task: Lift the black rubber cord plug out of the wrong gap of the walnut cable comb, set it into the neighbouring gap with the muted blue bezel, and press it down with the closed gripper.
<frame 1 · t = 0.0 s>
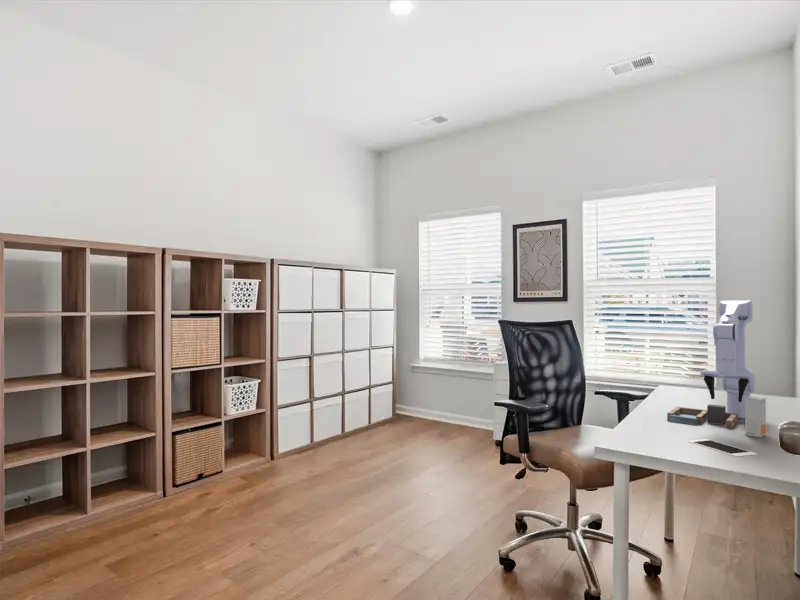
hand: (726, 400, 163), 10 cm above the table, fingers open, 7 cm apart
cell phone: (721, 449, 143), on the table
cord plug: (716, 422, 174), resting in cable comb
skincare box: (755, 435, 157), on the table
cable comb: (702, 420, 177), on the table
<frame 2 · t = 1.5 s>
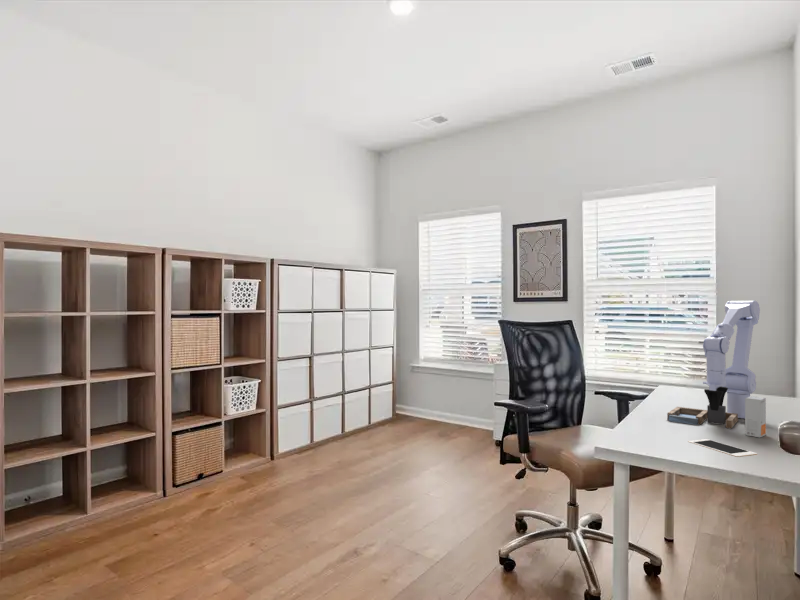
hand: (716, 408, 174), 5 cm above the table, fingers open, 7 cm apart
nothing on the table moved.
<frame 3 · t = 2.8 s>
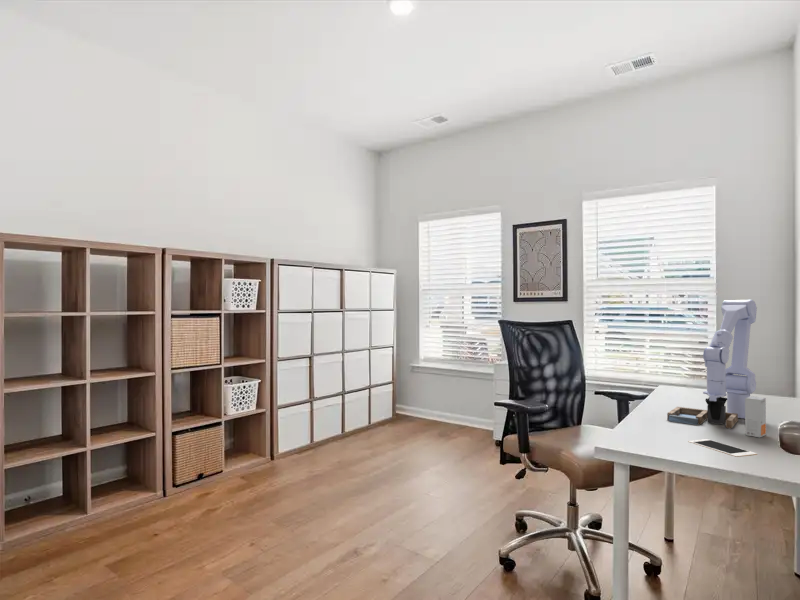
hand: (716, 418, 174), 1 cm above the table, fingers closed on cord plug, 3 cm apart
cord plug: (716, 422, 174), resting in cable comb, touching gripper
everything else where it was.
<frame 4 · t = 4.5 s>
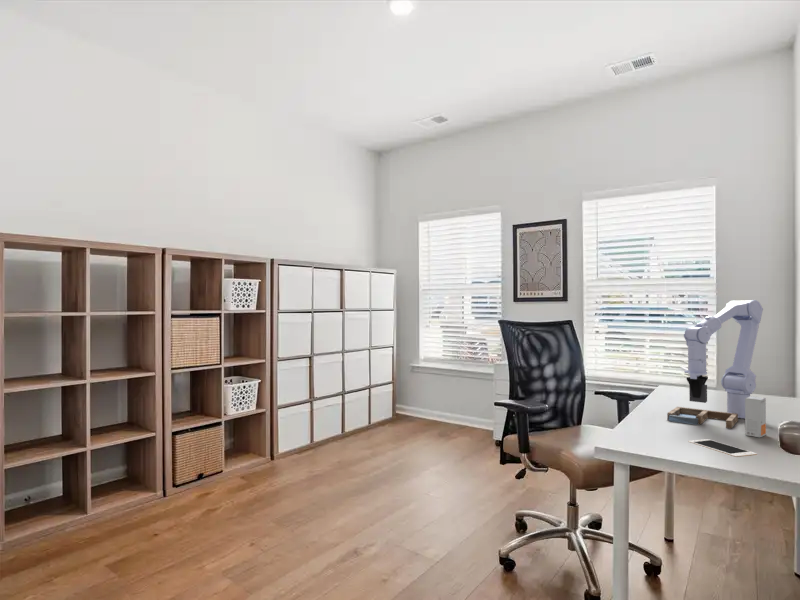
hand: (697, 396, 178), 8 cm above the table, fingers closed on cord plug, 3 cm apart
cord plug: (698, 401, 178), point 7 cm above the table, touching gripper
everything else where it was.
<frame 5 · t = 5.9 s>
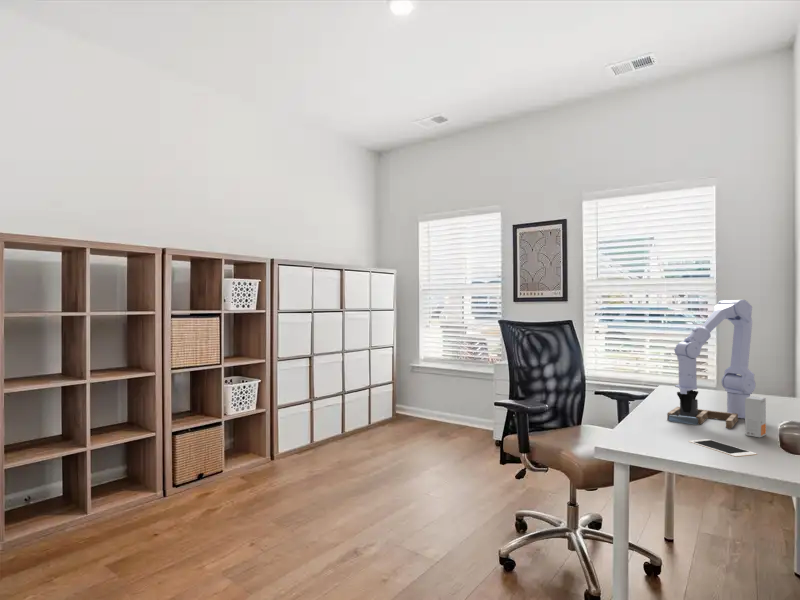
hand: (687, 411, 180), 3 cm above the table, fingers closed on cord plug, 3 cm apart
cord plug: (688, 415, 180), point 1 cm above the table, touching gripper
everything else where it was.
when the fingers open (3 cm above the table, at t = 6.5 s): cord plug stays where it is, resting on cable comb.
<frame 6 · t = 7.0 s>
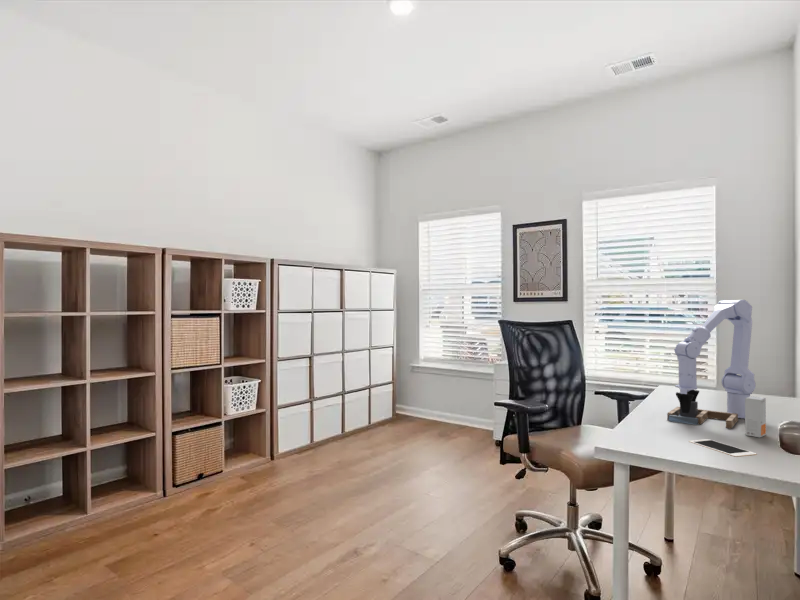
hand: (687, 411, 180), 3 cm above the table, fingers open, 7 cm apart
cord plug: (688, 417, 180), resting on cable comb
everything else where it was.
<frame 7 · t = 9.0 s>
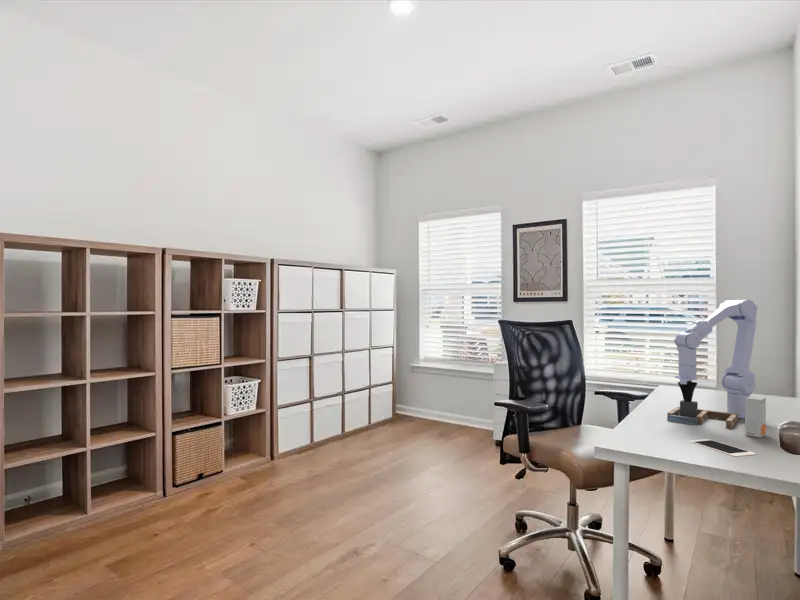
hand: (687, 401, 180), 6 cm above the table, fingers closed, pressing on cord plug
cord plug: (688, 417, 180), resting on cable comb, touching gripper
everything else where it was.
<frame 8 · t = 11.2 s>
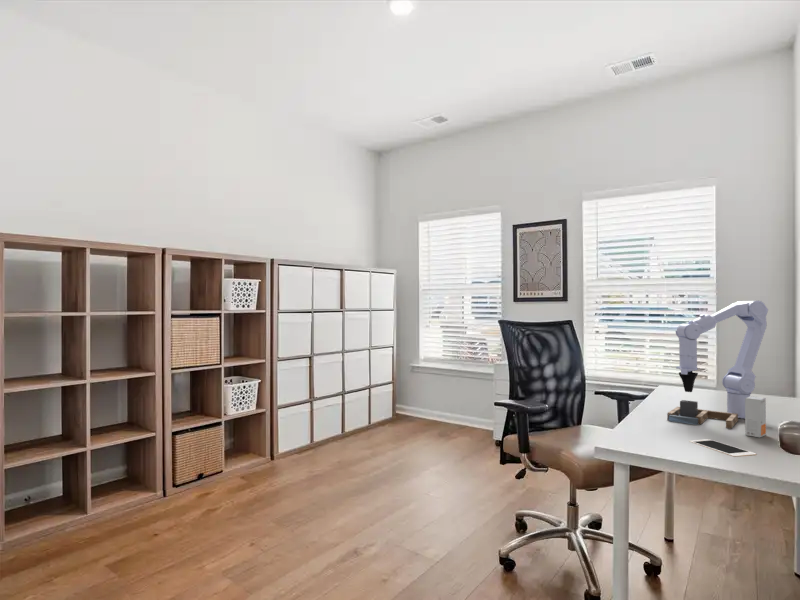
hand: (688, 391, 184), 9 cm above the table, fingers closed
cord plug: (688, 417, 180), resting on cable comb
everything else where it was.
at the end: cord plug inside the target area on the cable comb (0.3 cm from its centre), point 0.4 cm above the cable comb's base; cord plug tilted 0°; the gripper is holding nothing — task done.
